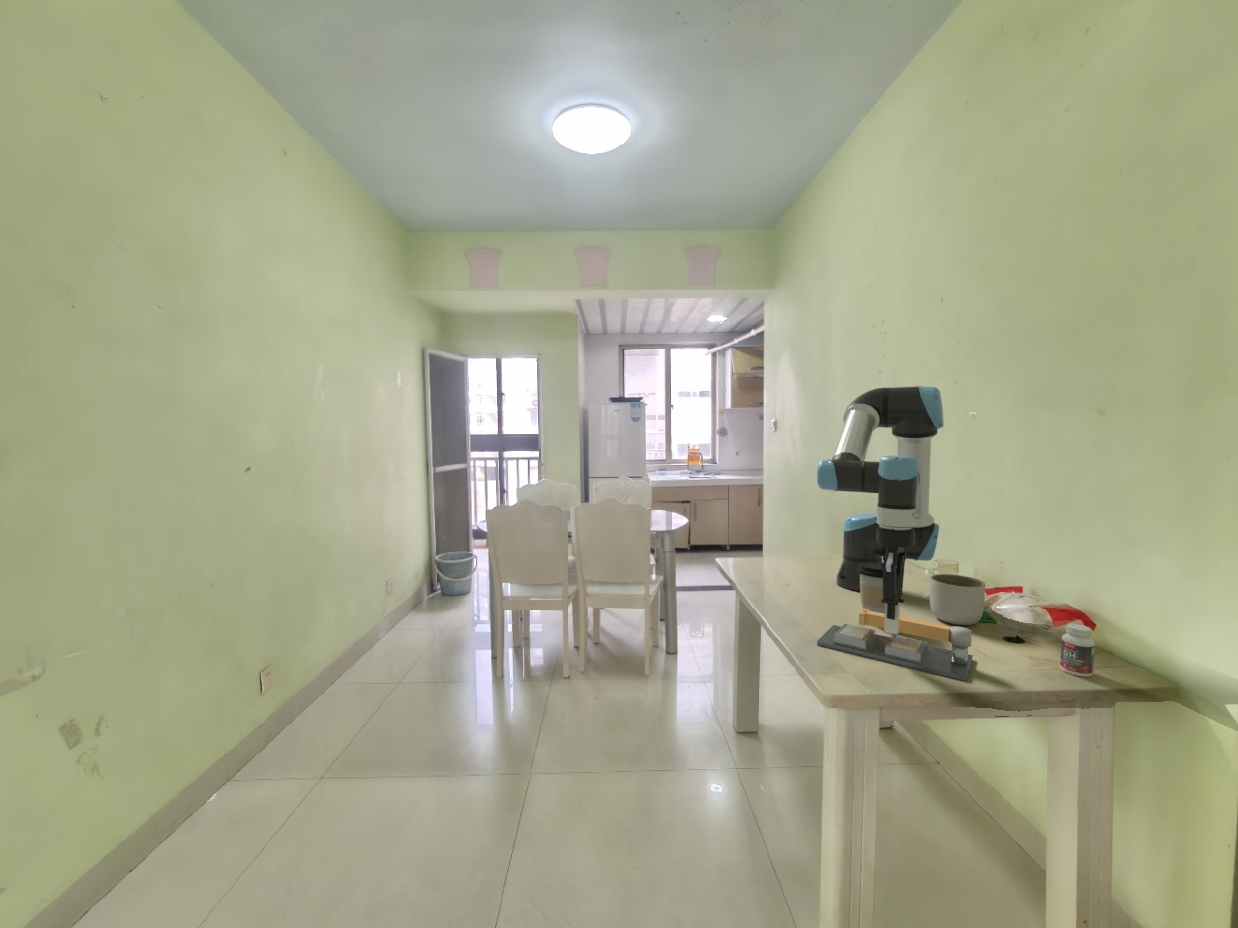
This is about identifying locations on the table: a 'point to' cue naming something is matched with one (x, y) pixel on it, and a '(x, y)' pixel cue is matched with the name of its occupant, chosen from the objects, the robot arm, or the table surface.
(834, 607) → the table surface
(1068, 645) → the pill bottle
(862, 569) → the coffee cup
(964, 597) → the planter
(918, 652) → the grey switch panel
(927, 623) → the swing arm
